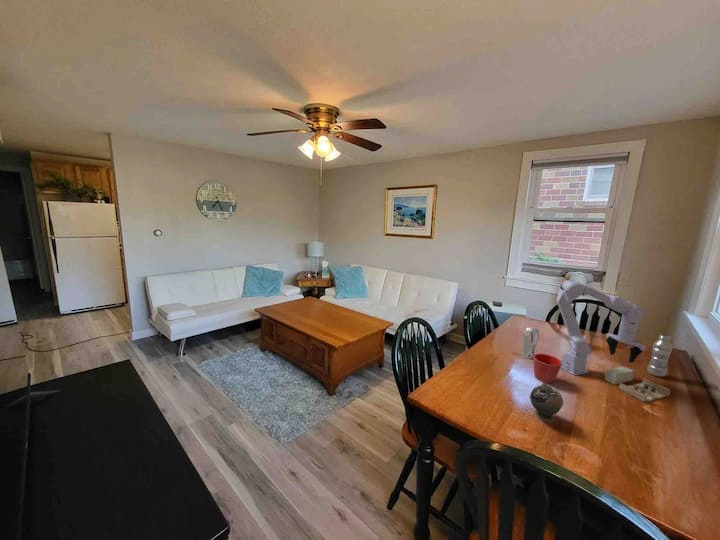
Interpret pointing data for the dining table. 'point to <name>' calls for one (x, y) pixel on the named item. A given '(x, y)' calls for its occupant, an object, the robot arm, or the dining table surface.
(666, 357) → the plastic bottle
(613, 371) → the pale green block
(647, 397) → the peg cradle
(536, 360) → the flower pot
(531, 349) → the silver pitcher
